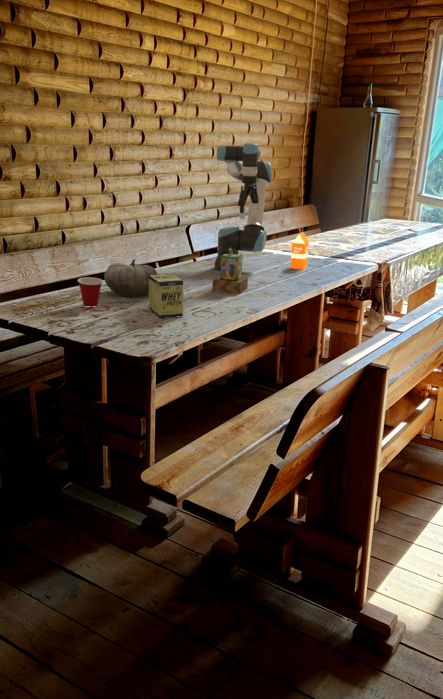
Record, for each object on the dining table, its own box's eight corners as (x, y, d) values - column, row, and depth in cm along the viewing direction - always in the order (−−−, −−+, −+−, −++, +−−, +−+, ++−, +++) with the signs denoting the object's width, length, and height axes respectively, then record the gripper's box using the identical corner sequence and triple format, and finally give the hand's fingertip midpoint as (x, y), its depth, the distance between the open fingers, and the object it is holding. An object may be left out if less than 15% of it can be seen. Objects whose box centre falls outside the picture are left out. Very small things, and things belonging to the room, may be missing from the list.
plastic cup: (92, 311, 289) (91, 283, 285) (73, 307, 294) (72, 280, 290) (108, 306, 297) (108, 279, 294) (90, 302, 303) (89, 275, 299)
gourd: (127, 297, 301) (125, 258, 299) (93, 297, 318) (91, 259, 316) (168, 295, 319) (167, 258, 317) (134, 294, 336) (133, 259, 334)
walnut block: (212, 292, 330) (212, 279, 328) (220, 286, 343) (221, 274, 341) (240, 294, 326) (240, 282, 324) (247, 288, 339) (247, 276, 337)
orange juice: (290, 268, 390) (292, 233, 384) (294, 265, 398) (296, 231, 392) (303, 269, 387) (305, 234, 381) (307, 266, 395) (309, 232, 389)
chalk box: (237, 281, 327) (238, 250, 322) (219, 279, 329) (220, 249, 324) (242, 277, 335) (243, 247, 331) (224, 276, 337) (225, 246, 333)
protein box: (159, 319, 280) (159, 282, 275) (148, 309, 294) (148, 274, 289) (183, 317, 284) (184, 280, 279) (171, 307, 298) (171, 273, 293)
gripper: (245, 177, 329) (244, 221, 336) (266, 174, 350) (264, 215, 357) (231, 176, 332) (230, 220, 339) (252, 173, 353) (251, 214, 360)
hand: (247, 217), depth 348 cm, fingers open, 13 cm apart
